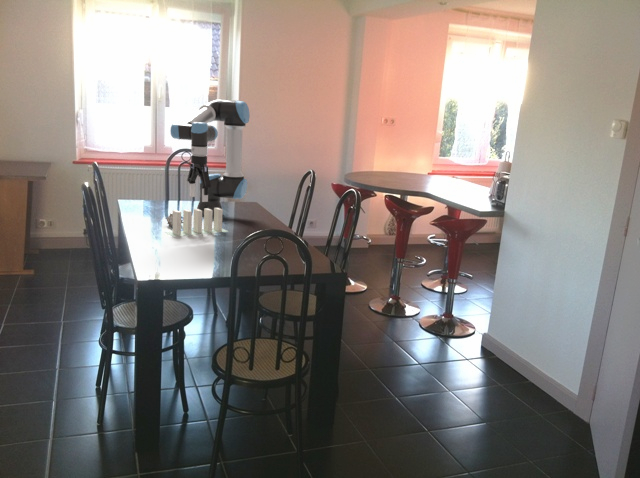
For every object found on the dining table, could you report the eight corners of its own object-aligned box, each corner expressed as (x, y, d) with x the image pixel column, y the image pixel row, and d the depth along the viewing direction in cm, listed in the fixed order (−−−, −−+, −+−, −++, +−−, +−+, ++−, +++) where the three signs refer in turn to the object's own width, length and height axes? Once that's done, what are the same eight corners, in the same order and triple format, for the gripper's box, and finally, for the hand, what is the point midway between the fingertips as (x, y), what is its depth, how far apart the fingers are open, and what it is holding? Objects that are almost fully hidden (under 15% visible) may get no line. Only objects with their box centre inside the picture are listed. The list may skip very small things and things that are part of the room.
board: (220, 229, 303) (220, 227, 302) (229, 233, 296) (229, 231, 296) (164, 234, 285) (164, 232, 284) (172, 238, 278) (172, 236, 277)
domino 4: (207, 229, 296) (207, 208, 293) (212, 232, 292) (212, 210, 290) (203, 230, 295) (204, 208, 292) (208, 232, 291) (208, 210, 288)
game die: (172, 236, 298) (163, 222, 291) (169, 226, 304) (160, 213, 298) (188, 227, 299) (180, 213, 293) (184, 218, 306) (176, 204, 299)
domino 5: (217, 229, 299) (217, 207, 297) (221, 231, 295) (222, 209, 293) (213, 229, 298) (214, 207, 295) (218, 231, 294) (218, 209, 292)
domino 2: (186, 231, 289) (187, 209, 287) (191, 233, 285) (191, 211, 283) (183, 231, 288) (183, 209, 285) (187, 234, 284) (188, 211, 282)
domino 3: (197, 230, 292) (197, 208, 290) (201, 232, 289) (202, 210, 286) (193, 230, 291) (193, 209, 289) (198, 233, 287) (198, 210, 285)
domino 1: (176, 232, 286) (176, 210, 283) (180, 234, 282) (181, 212, 280) (172, 232, 285) (172, 210, 282) (176, 235, 281) (177, 212, 278)
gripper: (180, 152, 289) (180, 195, 294) (204, 158, 270) (203, 204, 275) (194, 152, 293) (194, 194, 298) (218, 158, 274) (217, 203, 279)
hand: (198, 199), depth 287 cm, fingers open, 13 cm apart
